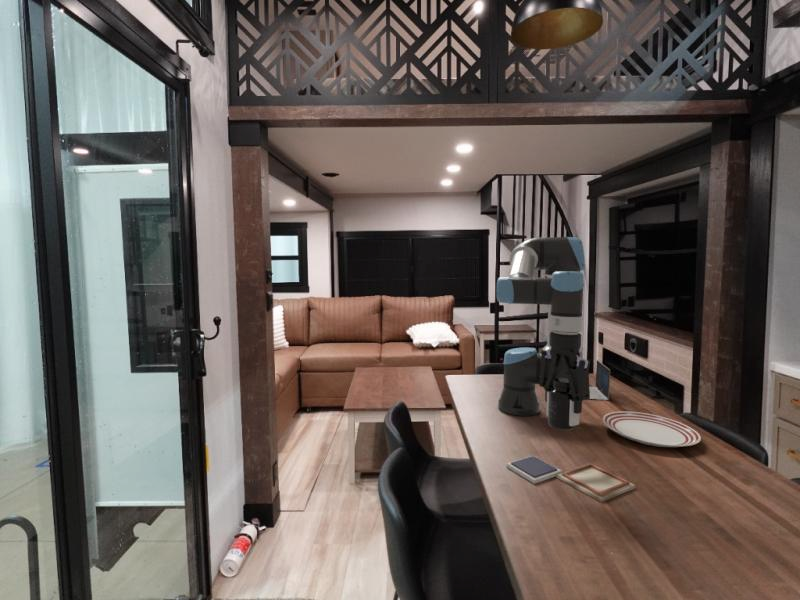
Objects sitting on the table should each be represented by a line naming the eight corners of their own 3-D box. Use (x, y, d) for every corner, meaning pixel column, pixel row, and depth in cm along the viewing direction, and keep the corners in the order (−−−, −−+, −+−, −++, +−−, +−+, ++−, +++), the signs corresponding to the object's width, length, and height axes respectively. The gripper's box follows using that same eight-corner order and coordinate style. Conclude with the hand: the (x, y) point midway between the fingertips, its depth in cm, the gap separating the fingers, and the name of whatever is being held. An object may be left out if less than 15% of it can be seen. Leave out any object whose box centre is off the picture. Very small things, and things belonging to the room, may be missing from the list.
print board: (556, 477, 110) (556, 472, 110) (589, 465, 116) (589, 461, 116) (601, 502, 99) (601, 496, 98) (635, 488, 105) (635, 482, 105)
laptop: (566, 387, 190) (568, 358, 189) (596, 388, 188) (597, 359, 187) (576, 399, 173) (577, 368, 172) (609, 401, 171) (610, 370, 170)
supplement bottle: (577, 431, 105) (579, 384, 104) (549, 429, 107) (550, 382, 106) (573, 421, 112) (575, 377, 111) (546, 419, 113) (547, 375, 112)
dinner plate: (684, 425, 146) (685, 416, 145) (714, 460, 120) (715, 449, 120) (597, 415, 155) (598, 407, 154) (608, 446, 129) (608, 436, 129)
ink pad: (506, 467, 115) (506, 462, 115) (532, 458, 120) (533, 454, 120) (534, 483, 107) (534, 478, 107) (561, 474, 112) (561, 469, 111)
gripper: (526, 327, 114) (523, 410, 116) (588, 339, 97) (583, 436, 99) (546, 325, 118) (544, 406, 120) (610, 337, 100) (605, 430, 102)
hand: (562, 419), depth 109 cm, fingers closed on supplement bottle, 7 cm apart
